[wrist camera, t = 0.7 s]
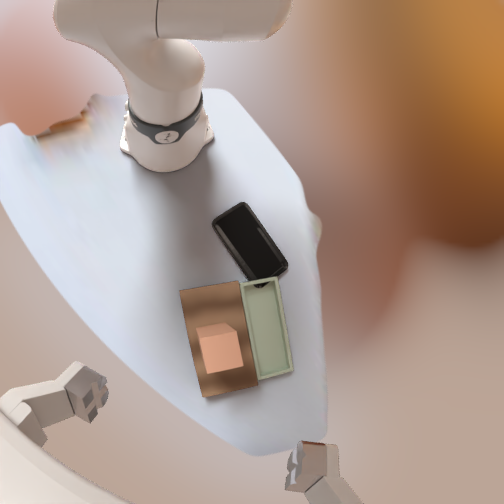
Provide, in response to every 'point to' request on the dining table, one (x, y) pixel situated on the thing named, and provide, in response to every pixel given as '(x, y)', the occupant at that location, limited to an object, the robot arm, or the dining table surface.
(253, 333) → the box
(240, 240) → the phone
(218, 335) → the terracotta block
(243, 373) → the platform
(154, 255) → the dining table surface
